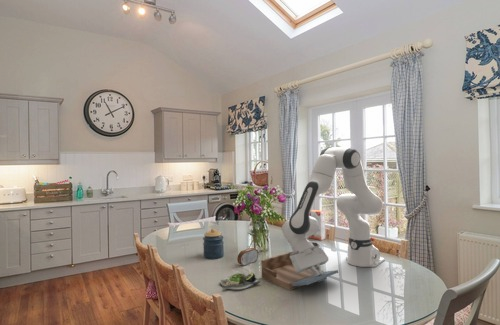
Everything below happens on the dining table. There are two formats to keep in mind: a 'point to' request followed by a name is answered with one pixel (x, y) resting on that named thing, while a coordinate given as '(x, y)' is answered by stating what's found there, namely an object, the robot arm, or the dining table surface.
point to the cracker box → (321, 220)
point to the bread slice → (247, 256)
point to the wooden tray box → (282, 271)
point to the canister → (213, 245)
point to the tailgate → (315, 278)
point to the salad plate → (239, 281)
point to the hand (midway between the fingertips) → (319, 275)
